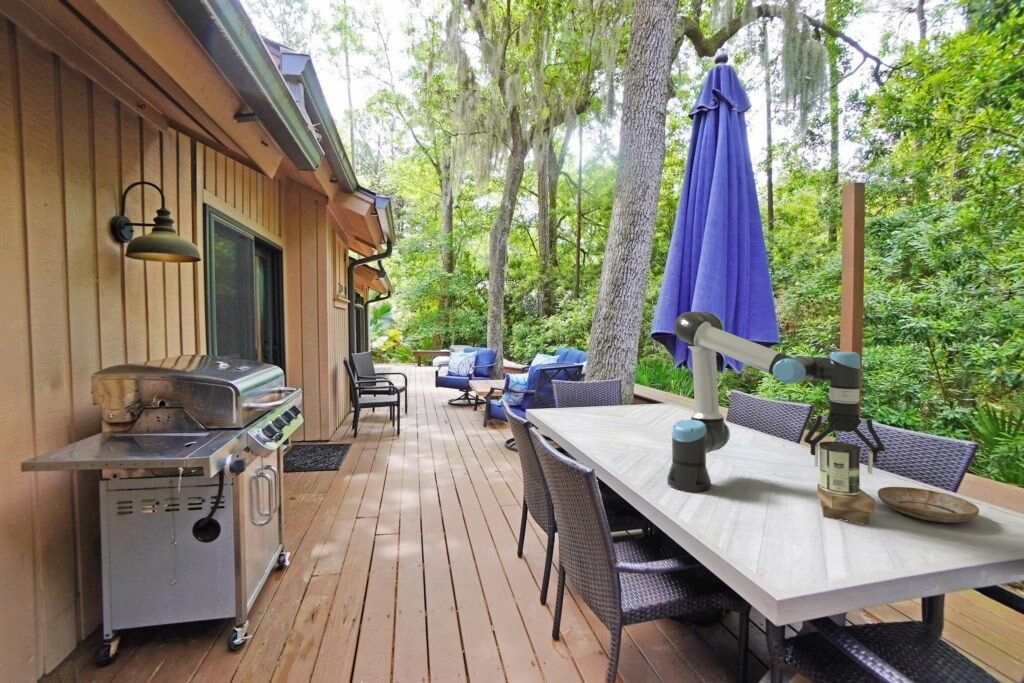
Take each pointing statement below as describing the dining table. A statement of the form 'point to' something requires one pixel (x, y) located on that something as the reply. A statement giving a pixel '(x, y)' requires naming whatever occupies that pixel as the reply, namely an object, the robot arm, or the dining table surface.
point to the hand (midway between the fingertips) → (842, 469)
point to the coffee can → (840, 468)
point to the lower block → (844, 514)
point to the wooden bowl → (928, 504)
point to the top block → (847, 501)
